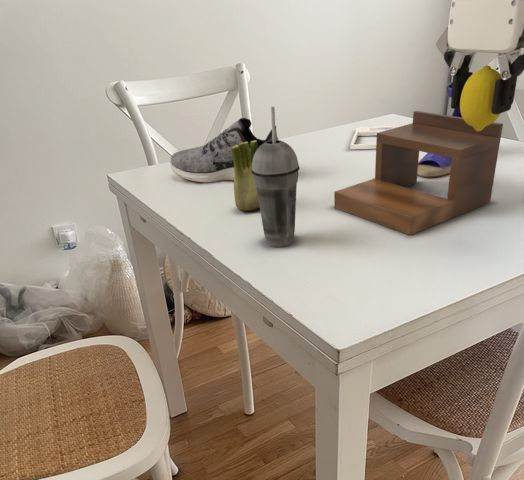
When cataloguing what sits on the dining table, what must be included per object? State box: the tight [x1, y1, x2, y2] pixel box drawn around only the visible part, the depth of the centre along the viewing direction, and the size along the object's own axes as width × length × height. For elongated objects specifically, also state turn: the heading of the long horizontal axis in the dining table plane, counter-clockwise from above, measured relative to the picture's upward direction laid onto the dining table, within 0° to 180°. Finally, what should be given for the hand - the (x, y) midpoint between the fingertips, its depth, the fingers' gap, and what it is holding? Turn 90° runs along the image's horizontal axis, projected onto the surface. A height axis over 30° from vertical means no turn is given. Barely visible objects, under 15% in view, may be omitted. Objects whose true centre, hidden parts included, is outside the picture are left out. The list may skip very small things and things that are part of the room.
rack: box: [333, 110, 504, 236], centre depth 92 cm, size 20×18×13 cm
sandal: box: [417, 81, 462, 179], centre depth 109 cm, size 8×20×15 cm, turn 132°
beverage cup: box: [251, 106, 301, 248], centre depth 81 cm, size 7×7×20 cm
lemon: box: [460, 65, 502, 131], centre depth 71 cm, size 6×6×8 cm
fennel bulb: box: [231, 140, 260, 212], centre depth 97 cm, size 6×5×12 cm
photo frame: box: [349, 125, 402, 150], centre depth 133 cm, size 15×1×18 cm
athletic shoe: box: [170, 117, 279, 184], centre depth 114 cm, size 10×27×12 cm, turn 71°
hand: (480, 107), depth 71 cm, fingers closed on lemon, 5 cm apart
